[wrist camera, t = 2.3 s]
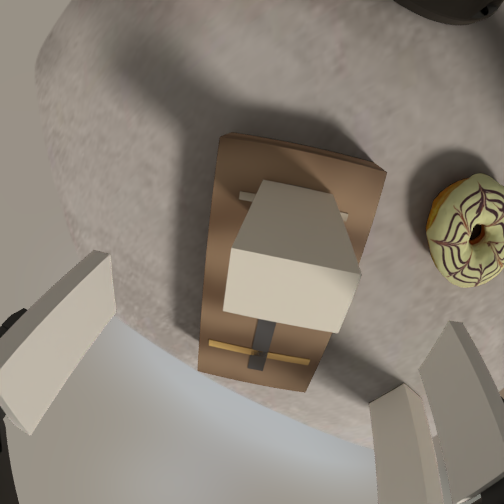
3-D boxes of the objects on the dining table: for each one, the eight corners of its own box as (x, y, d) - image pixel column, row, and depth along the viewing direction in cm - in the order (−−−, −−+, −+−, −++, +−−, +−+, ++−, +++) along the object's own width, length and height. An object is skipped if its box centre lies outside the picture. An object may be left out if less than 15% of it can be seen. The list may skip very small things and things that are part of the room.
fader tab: (263, 179, 21) (231, 247, 11) (333, 194, 21) (361, 274, 11) (256, 218, 22) (222, 310, 13) (323, 232, 22) (338, 333, 12)
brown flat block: (231, 132, 24) (219, 136, 20) (373, 162, 23) (387, 172, 20) (206, 346, 35) (197, 371, 31) (305, 366, 34) (305, 393, 31)
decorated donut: (465, 148, 21) (487, 155, 18) (518, 217, 23) (538, 231, 19) (401, 233, 26) (414, 251, 22) (461, 288, 27) (475, 308, 24)
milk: (368, 402, 37) (376, 549, 17) (404, 381, 34) (429, 535, 14) (389, 416, 38) (401, 548, 18) (423, 397, 35) (447, 533, 16)
